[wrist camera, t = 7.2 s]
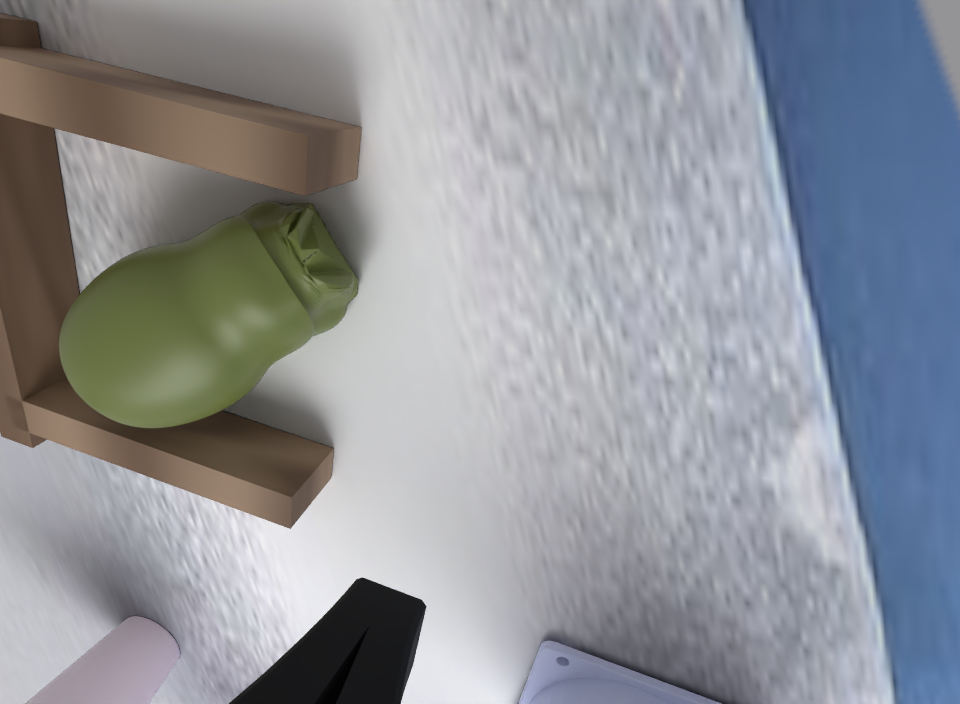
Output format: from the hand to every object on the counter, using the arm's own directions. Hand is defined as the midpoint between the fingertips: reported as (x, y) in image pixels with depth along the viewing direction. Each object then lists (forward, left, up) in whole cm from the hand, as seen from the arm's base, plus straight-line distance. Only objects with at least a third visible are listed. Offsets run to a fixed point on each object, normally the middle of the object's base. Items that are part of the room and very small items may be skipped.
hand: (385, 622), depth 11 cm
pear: (+9, -1, -10) cm, 14 cm away
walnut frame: (+12, -1, -9) cm, 15 cm away
